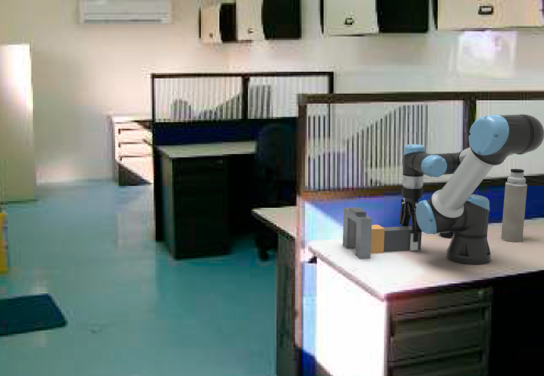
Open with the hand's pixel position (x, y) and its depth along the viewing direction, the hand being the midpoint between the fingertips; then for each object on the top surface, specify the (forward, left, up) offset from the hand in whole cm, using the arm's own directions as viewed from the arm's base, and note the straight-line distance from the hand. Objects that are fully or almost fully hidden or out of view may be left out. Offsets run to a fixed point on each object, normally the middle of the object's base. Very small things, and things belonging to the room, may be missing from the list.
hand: (409, 246), depth 262 cm
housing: (0, +21, -1) cm, 21 cm away
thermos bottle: (+4, -46, -1) cm, 46 cm away
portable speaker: (+14, -24, -1) cm, 27 cm away
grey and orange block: (0, +7, -1) cm, 7 cm away
